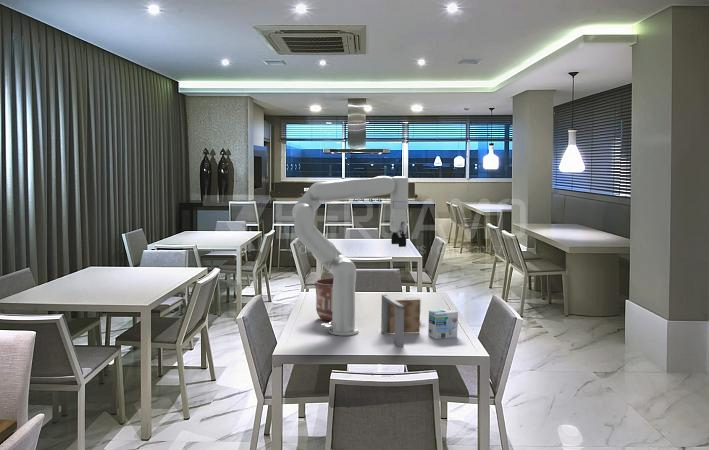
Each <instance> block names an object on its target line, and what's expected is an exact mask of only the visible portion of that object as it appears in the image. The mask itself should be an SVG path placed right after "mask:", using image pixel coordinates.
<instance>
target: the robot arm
mask: <svg viewBox="0 0 709 450" xmlns="http://www.w3.org/2000/svg"><path fill="white" fill-rule="evenodd" d="M389 194H390V198H389V199H390V201H389V202H390V203H389V204H390V205H389V207H390V208H389V209H390V215H389V216H390V217H389V230H390V234H391V238H390V239H391V242H390V243H391V244H392V245H398V247H399V248H406V247H407V234H408V233H407V230H408V213H407V210H409V209H408V208H409V178H408V177H406V176H387V175H378V176H375V177H372V178H371V177H369V178H347V179H337V180H329V181H318V182H314V183H313V184H311V186H310V187H309V188H308V189H307V190H306V191H305V192H304V194H303V195H302V196H301V197H300V198H299V200H298V201H297V202H296V203H295V204H294V206H293V208H292V210H291V212H292V213H291V214H292V217H293V219H294V222H293V226H294V227H293V228H294V233H295V235H296V237H297V239H298V240H299V241H300V242H301V243H302V244H303V246H305V248H307V250H308V251H310V253H311V255H312V257H313V258H314V259H315V260H316V261H317V262H318V263H319V264H320V265H321V266H322V267H323V268H325V269H326V271H328V272H329V273H330V274H331V276H333V278H334V279H333V292H332V296H333V304H332V321H331V322H324V323H321V325H320V327H321V329H325V330H328V333H329V334H331V335H332V336H333V335H335V336H345V337H347V336H353V335H356V334H359V329H358V328H357V327H356V323H355V321H356V280H357V267H356V265H355V263H354V262H353V261H352V260H351V259H349V258H347V257H346V256H345V255H343V253H342V252H340V251H339V250H338V249H337V247H336V246H335V244H334V243H333V242H332V241H330V239H328V238H327V237H326V236H325V235H324V234H323V233H322V232H321V231H320V230H319V229H318V228H317V227H316V224H315V219H316V211H317V210H318V209H319V207H321V204H323V203H331V202H340V201H346V200H356V199H361V198H367V197H369V198H370V197H377V196H385V195H389Z"/></svg>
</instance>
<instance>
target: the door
mask: <svg viewBox="0 0 709 450" xmlns="http://www.w3.org/2000/svg"><path fill="white" fill-rule="evenodd" d="M420 299H421V298H420ZM420 299H414V300H404V299H394V300H395V301H397V302H398V303H400V304H401V305H403V306H404V334H408V333H409V334H411V333H420V328H421V327H420V325H421V324H420V322H421V312H420ZM386 334H395V306H393V305H392V304H390V303H389V302H388V327H387V333H386Z"/></svg>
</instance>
